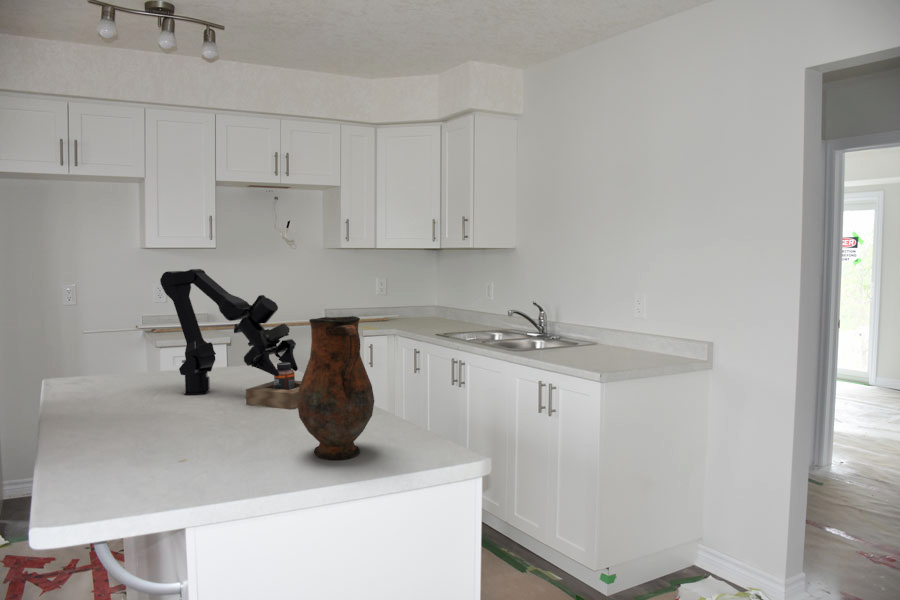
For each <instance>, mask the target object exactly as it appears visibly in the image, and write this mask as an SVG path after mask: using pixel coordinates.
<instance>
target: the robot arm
mask: <svg viewBox="0 0 900 600" xmlns="http://www.w3.org/2000/svg"><path fill="white" fill-rule="evenodd" d="M159 282H160V285H161V287H162V290H163V291H164V294H166V296H168V298H170V300H171V301H172V303H173V305H174V309H175V311H176V315H177V317H178V321H179V324H180V327H181V330H182V333H183V336H184V340H185V343H186V347H185V352H184V357H185V360H184V362H183V363H182V365H181V366H180V367H178V369H179V373H180V375H181V376H184V383H185V384H184V385H185V386H184V387H185V388H184V389H185V391H184V393H183V395H185V396H187V395H206V394H208V392H209V391H210V389H211V380H210V378H211V377H210V376H208V372H210V373H211V372H212V370H213V367H214V364H215V362H216V355H217V353H216V352H215V349H214V345H213V343H212V342H206V340H204V337H203V335H202V331H201V329H200V326H199V323H198V320H197V316H196V313H195V310H194V307H193V304H192V301H191V298H190V294H191V291H192V285H194V286H195V287H197V288H198V289H199V290H200V291H201V292H203V294H204V295H206V296H207V297H208V298H209V299H211V300H212V301H213V302H214V303H215V304H216V305H217V306H218V310H219V312H220V313H221V314H222V315H223V317H224V318H225V319H226V320H227V321H229V322H233V321H239V320H240V321H239V322H238V323H235V324H234V328H233V333H234V334H238V333H239V334H240V333H242V334H243V335H244V336H245V338H246V339H247V340H248V343H247V345H248V347H251V348H250V349H249V350H248V351H247V352H246V353H245V355H244V356H243V362H244V363H245V365H246V366H247V367H250V366H251V367H252V368H256V369H258V370H260V371H263V372H266V373H268V374H269V375H272V376H273V377H274V376H276V377H277V376H279V372H278V371H277V367H276V366H275V364H274V363H273V362H272V360H271V359H270V355H271V356H272V355H274V356H276V357H277V358H278V361H280V363H283V362H289V363H291V369H292V370H293V371H294V372H297V371H298V370H299V367H298V365H297V363H296V360H295V356H294V350H295V348H296V346H297V343H296V342H295V340H293V339H292V338H289V339H284V340H281V339H283V338H285V337H287V336H289V335H290V334H289V333H290V330H291V329H290V327H289V326H287V324H285V323H281V324H280V325H277V326H275V327H273V328H271V329H270V328H269V329H268V328H267V329H265V328H264V326H263V325H262V324H267V323H268V322H269V320H270V319H272V317H273V316H274V315H275V314H276V312H277V311H278V309H279V307H278V304H277V302H275V301H273V300H272V299H270V298H269V297H266V296H265V295H264V294H260V295H258V297H256V300H255V301H254V302H253V304H249V303H248V301H246V300H245V299H243V298H241V297H240V296H236V295H234V294H231V293H230V292H228V291H227V290H225V288H223V287H222V286H221V285H220V284H219V283H218V282H216V281H215V280H214V279H213V278H212V277H210V276H209V275H208V274H207V273H206V272H205V270H203V269H201V268H192V269H188V270H185V271H184V270H175V271H164V272H163V273H162V275H161V277H160V281H159ZM277 344H278V345H277Z"/></svg>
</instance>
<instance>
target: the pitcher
mask: <svg viewBox="0 0 900 600" xmlns="http://www.w3.org/2000/svg"><path fill="white" fill-rule="evenodd" d="M360 320H361V319H360V317H358V316H353V315H352V316H331V317H329V316H325V317H319V318H318V317H317V318H310V319H309V320H308V321H309V323H310V331H311V345H310V346H311V347H310V352H309V353H310V354H309V355H310V356H309V359H308V362H307V365H306V367H305V370H304V373H303V376H302V378H301V380H300V381H301V384H300V387H299V393H298V400H297V404H298V407H297V409H298V410H297V411H298V416H299V417H298V418H299V420H300V421H301V422H302V424H303V426H304V427H305V429H306V430H307V432H308V433H309V434H310V435H311V436H312V437H313V438H314V439H315V440H317V441H318V442H319V444H318V446H316V447H315V448H314V450H313V455H314V454H315V455H316V456H317V457H316V456H315V455H314V456H315V457H316V458H318V457H319V459H321V458H322V460H326V459H328V460H327V461H343V460H347V459H348V460H349V459H352V458H355V457H357V456H358V455H359V454H360V452H361V449H360V448H359V446H358V445H356V444H355V441H356V440H357V439H358V438H359V437H360V436H361V435H362V433H363V432H364V430H365V429H366V427H367V425H368V424H369V421H370V420H371V418H372V417H373V413H374V406H375V395H374V390H373V386H372V382H371V379H370V378H369V375H368V373H367V370H366V367H365V364H364V361H363V360H362V357H361V338H360V334H359V322H360Z"/></svg>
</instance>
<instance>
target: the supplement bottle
mask: <svg viewBox="0 0 900 600" xmlns="http://www.w3.org/2000/svg"><path fill="white" fill-rule="evenodd" d="M276 369H277V371H278V372H279V376H277V377H276V376H274V375H273V381H274V387H275V389H282V390H291V389H294V388H295V381H296V379H295V371H294V370H292V369H291V363H289V362H283V363H282V362H278V363H277V364H276Z"/></svg>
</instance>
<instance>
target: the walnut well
mask: <svg viewBox="0 0 900 600" xmlns="http://www.w3.org/2000/svg"><path fill="white" fill-rule="evenodd" d="M301 381H302V380H295V388H294V389H291V390H282V389H275V387H274V380H273V381H269V382H266V383H262V384H259V385H256V386H253V387H249V388H245V404H246V405H248V406H254V407H265V408H276V409H285V410H287V409H288V410H294V409H298V404H297V400H298V393H299V387H300V384H301Z"/></svg>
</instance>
